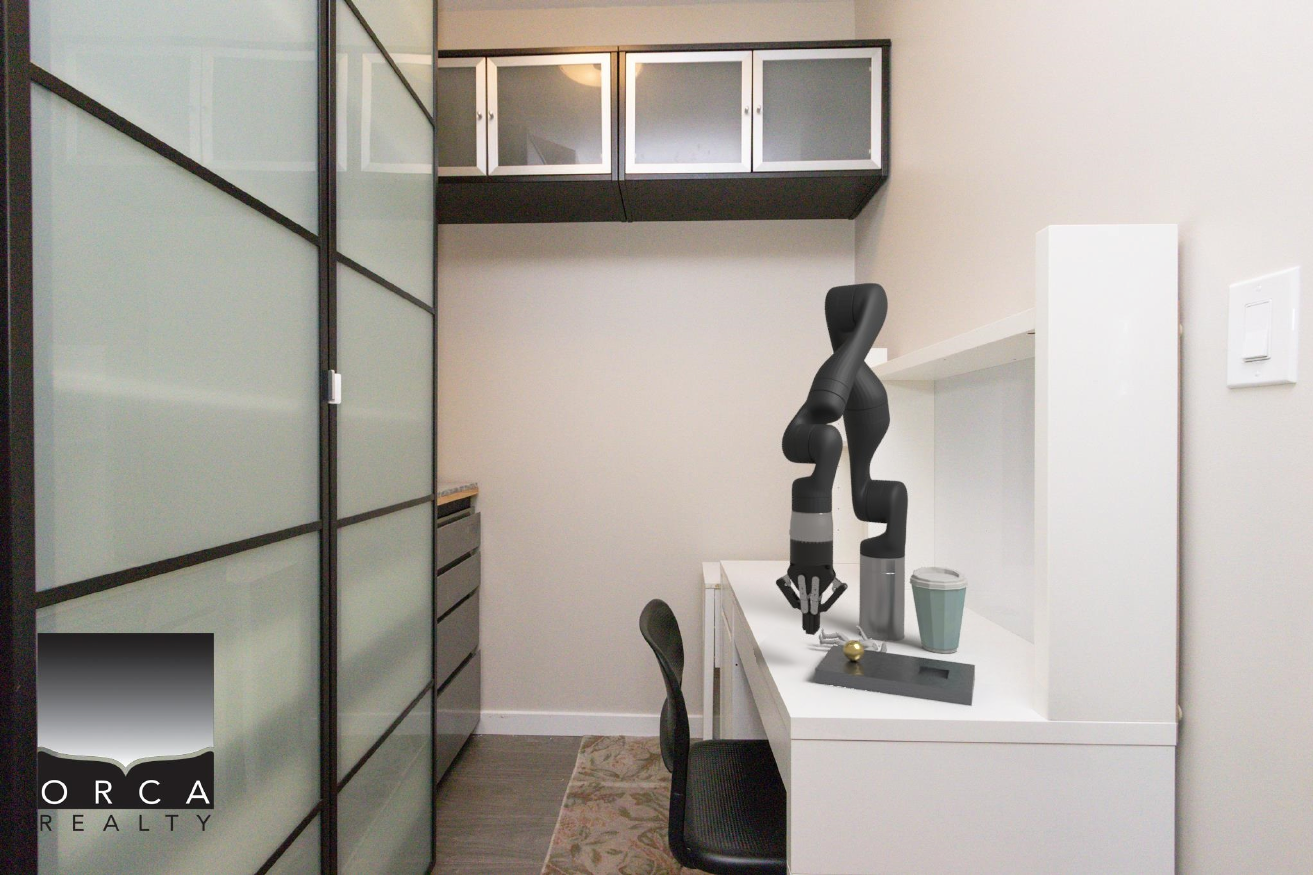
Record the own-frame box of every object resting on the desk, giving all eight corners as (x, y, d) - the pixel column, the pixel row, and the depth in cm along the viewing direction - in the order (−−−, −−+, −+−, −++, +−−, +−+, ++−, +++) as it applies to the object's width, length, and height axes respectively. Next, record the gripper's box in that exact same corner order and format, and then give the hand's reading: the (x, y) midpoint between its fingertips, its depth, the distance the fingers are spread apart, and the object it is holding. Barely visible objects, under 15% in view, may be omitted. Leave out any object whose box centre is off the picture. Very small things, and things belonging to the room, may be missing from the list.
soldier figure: (824, 621, 140) (886, 621, 135) (827, 644, 141) (890, 645, 136) (816, 638, 133) (881, 639, 128) (819, 662, 134) (885, 664, 129)
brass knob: (845, 656, 125) (845, 636, 125) (865, 659, 123) (865, 639, 123) (841, 662, 122) (841, 642, 122) (862, 665, 120) (862, 644, 120)
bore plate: (833, 658, 131) (833, 645, 131) (974, 679, 120) (974, 664, 120) (815, 683, 118) (815, 668, 118) (971, 709, 108) (971, 693, 108)
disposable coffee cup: (974, 659, 131) (975, 578, 131) (914, 655, 133) (914, 576, 132) (960, 641, 141) (960, 567, 141) (904, 638, 143) (904, 565, 143)
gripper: (853, 536, 126) (852, 632, 126) (781, 531, 132) (780, 623, 132) (844, 542, 119) (844, 644, 119) (769, 536, 125) (768, 634, 125)
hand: (810, 633), depth 126 cm, fingers closed
